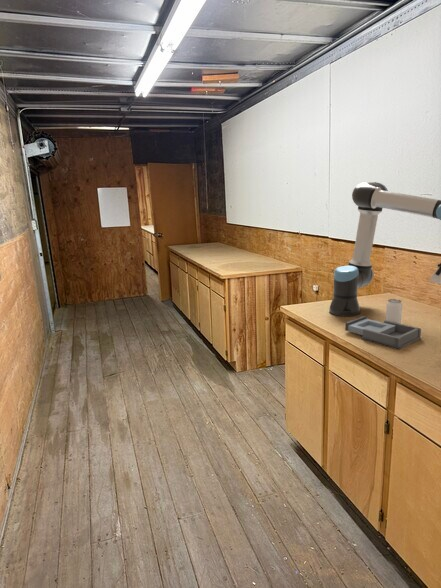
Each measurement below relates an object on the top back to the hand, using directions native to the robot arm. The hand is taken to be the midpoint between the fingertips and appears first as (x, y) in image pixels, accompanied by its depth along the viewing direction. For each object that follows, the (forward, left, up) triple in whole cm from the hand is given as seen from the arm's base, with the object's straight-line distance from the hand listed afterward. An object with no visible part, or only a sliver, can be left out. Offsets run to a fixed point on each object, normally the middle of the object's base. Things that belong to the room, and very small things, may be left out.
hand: (434, 282), depth 174 cm
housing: (-2, -30, -20) cm, 36 cm away
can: (-10, -14, -20) cm, 26 cm away
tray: (-12, -30, -19) cm, 37 cm away
